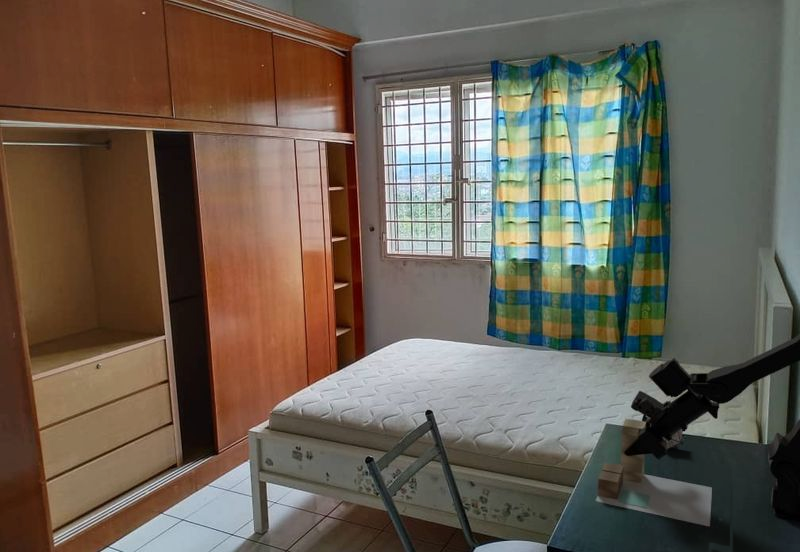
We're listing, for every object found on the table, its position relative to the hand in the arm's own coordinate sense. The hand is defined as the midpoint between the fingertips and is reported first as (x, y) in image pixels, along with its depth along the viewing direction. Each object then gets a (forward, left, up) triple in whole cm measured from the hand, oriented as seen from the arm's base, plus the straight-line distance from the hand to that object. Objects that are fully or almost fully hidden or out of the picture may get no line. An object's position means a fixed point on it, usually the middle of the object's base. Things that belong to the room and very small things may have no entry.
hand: (626, 449), depth 143 cm
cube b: (+2, +5, -6) cm, 9 cm away
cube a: (+2, +10, -6) cm, 12 cm away
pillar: (-1, 0, -6) cm, 7 cm away
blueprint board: (-7, +6, -7) cm, 12 cm away
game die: (-7, -22, -8) cm, 24 cm away
